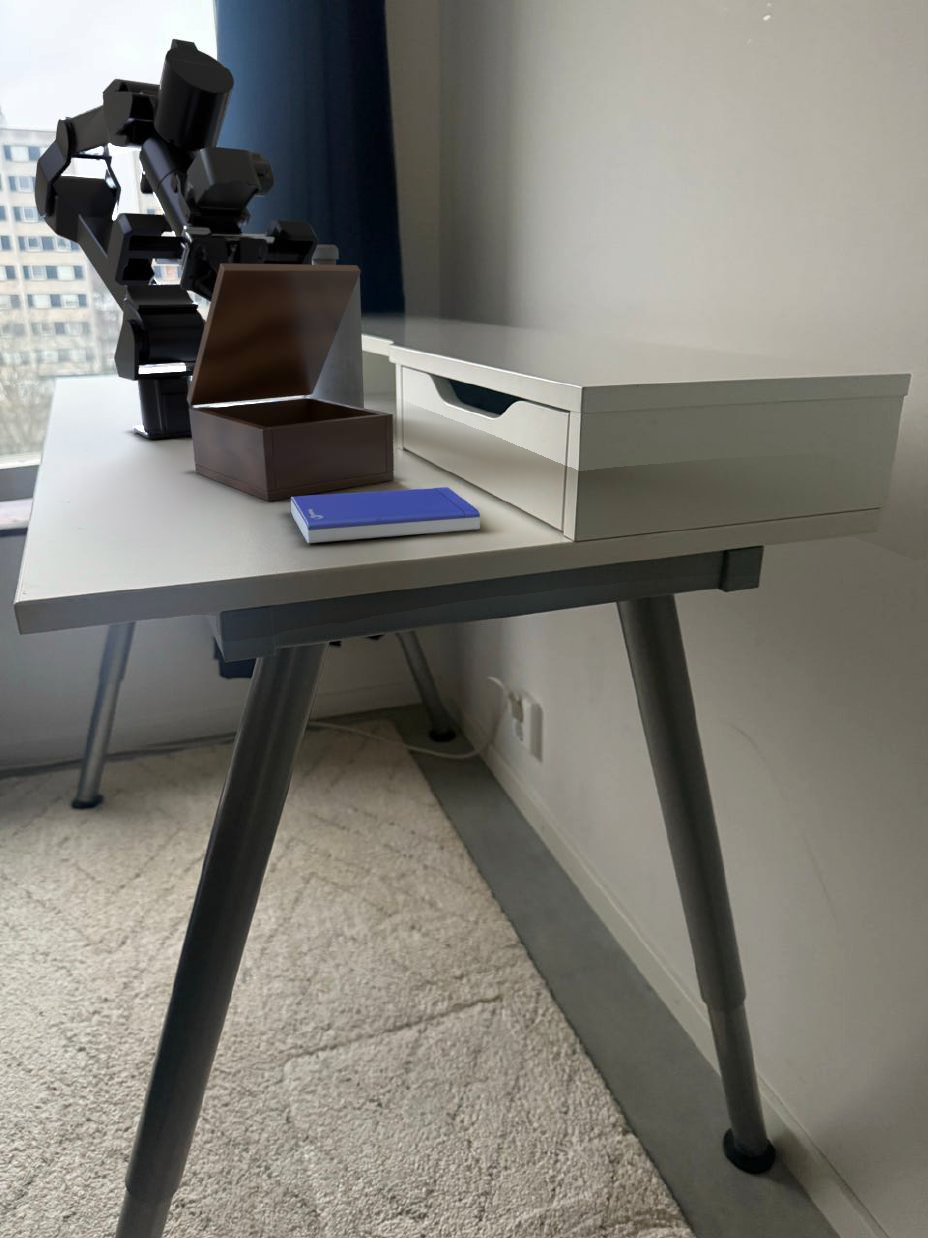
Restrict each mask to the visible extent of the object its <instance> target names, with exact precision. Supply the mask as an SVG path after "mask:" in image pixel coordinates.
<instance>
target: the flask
mask: <svg viewBox="0 0 928 1238" xmlns="http://www.w3.org/2000/svg"><path fill="white" fill-rule="evenodd" d="M339 257H340V256H339V248H338V246H336V244H318V245H317V247H316V250H315V252H314V254H313V257H312V259H311V265H337V260H339V259H340V258H339ZM360 275H361V274H360ZM360 275H359V278H358V280H357V283H356V285H355V288H354V290H353V293H352V295H351V298H350V300H349V303H348V305H347V308H346V311H345V313H344V316H343V318H342V321H341V323H340V326H339V328H338V331H337V333H336V336H335V338H334V341H333V344H332V346H331V349H330V351H329V354H328V356H327V359H326V361H325V364H324V366H323V369H322V371H321V374H320V376H319V379H318V382H317V384H316V387H315V389H314V392H313V394H312V395H306V397H314V398H319V399H323V400H328V401H333V402H337V403H342V404H347V405H351V406H356V407H360V408H365V397H364V396H365V395H364V394H365V393H364V367H363V366H364V364H363V339H362V338H363V335H362V333H363V332H362V307H361V306H362V305H361V277H360Z"/></svg>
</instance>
